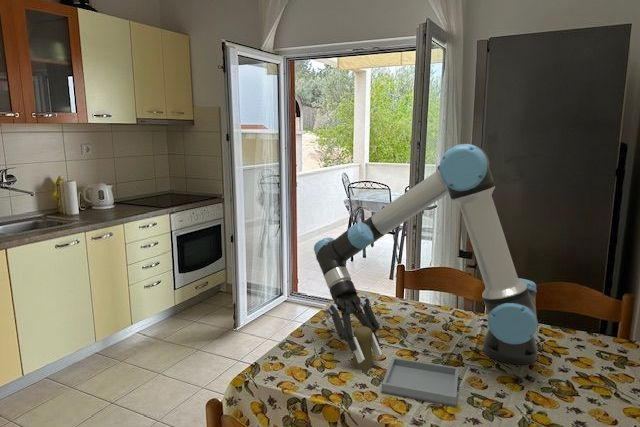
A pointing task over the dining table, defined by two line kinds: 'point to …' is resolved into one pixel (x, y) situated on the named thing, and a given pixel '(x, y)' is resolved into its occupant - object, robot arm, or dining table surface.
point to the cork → (364, 348)
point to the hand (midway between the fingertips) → (370, 358)
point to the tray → (421, 381)
